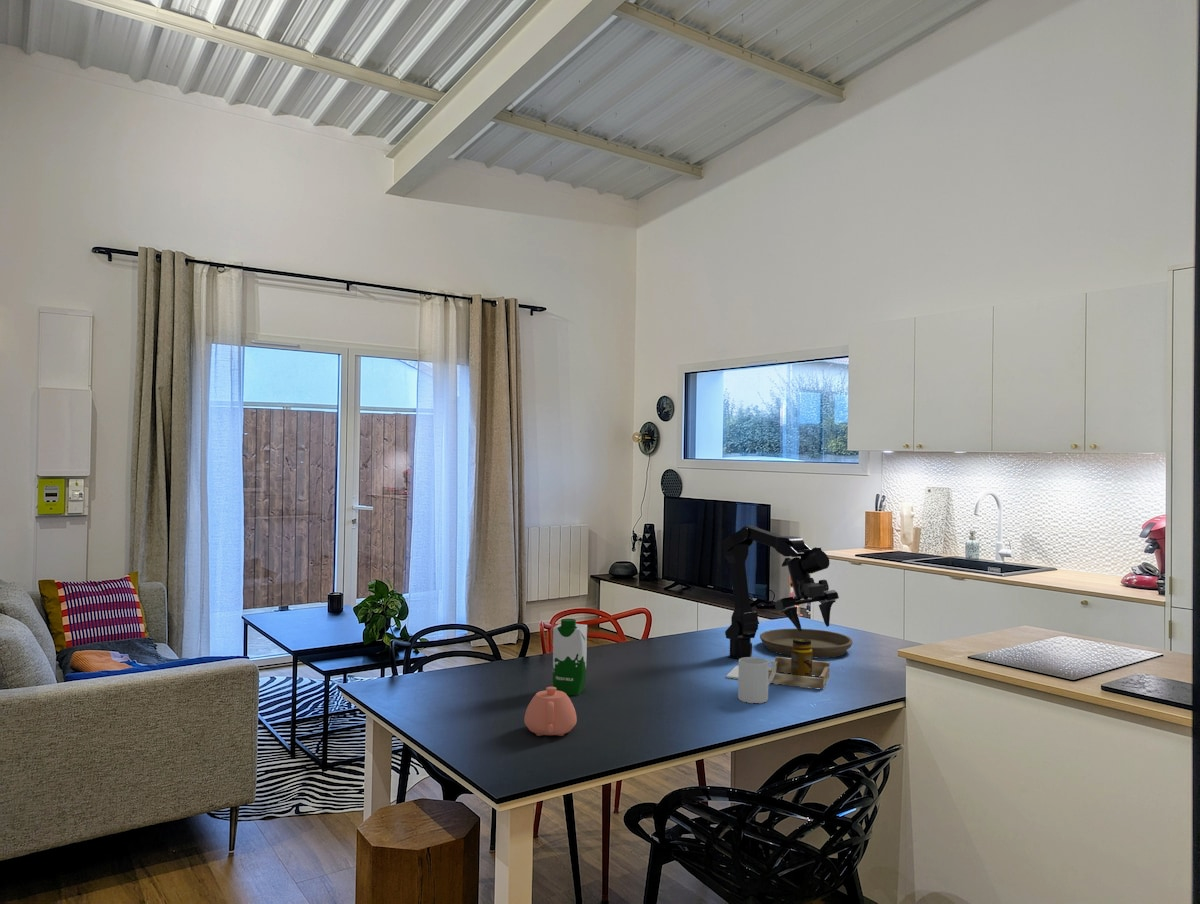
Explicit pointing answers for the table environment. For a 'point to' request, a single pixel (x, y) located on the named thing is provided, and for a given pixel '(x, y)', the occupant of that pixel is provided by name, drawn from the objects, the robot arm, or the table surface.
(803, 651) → the condiment
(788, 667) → the pine frame
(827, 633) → the plant saucer
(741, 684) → the mug
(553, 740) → the table surface
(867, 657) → the table surface
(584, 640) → the milk carton
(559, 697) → the sugar bowl
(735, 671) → the grey mat
